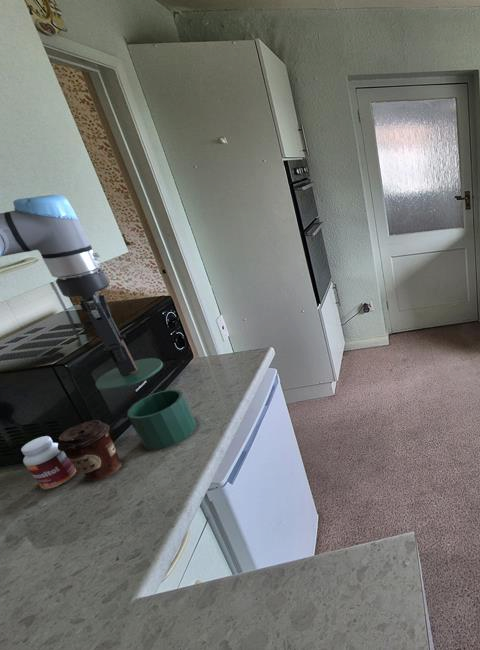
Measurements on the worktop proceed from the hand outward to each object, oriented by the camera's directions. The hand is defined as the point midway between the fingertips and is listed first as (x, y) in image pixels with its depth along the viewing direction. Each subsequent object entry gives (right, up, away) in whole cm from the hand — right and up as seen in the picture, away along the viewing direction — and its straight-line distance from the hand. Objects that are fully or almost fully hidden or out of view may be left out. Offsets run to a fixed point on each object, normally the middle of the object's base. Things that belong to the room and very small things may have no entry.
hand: (128, 369), depth 88 cm
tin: (+1, -19, +12) cm, 23 cm away
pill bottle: (-17, -26, +1) cm, 31 cm away
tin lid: (0, -1, +1) cm, 1 cm away
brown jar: (-7, -25, +2) cm, 26 cm away
